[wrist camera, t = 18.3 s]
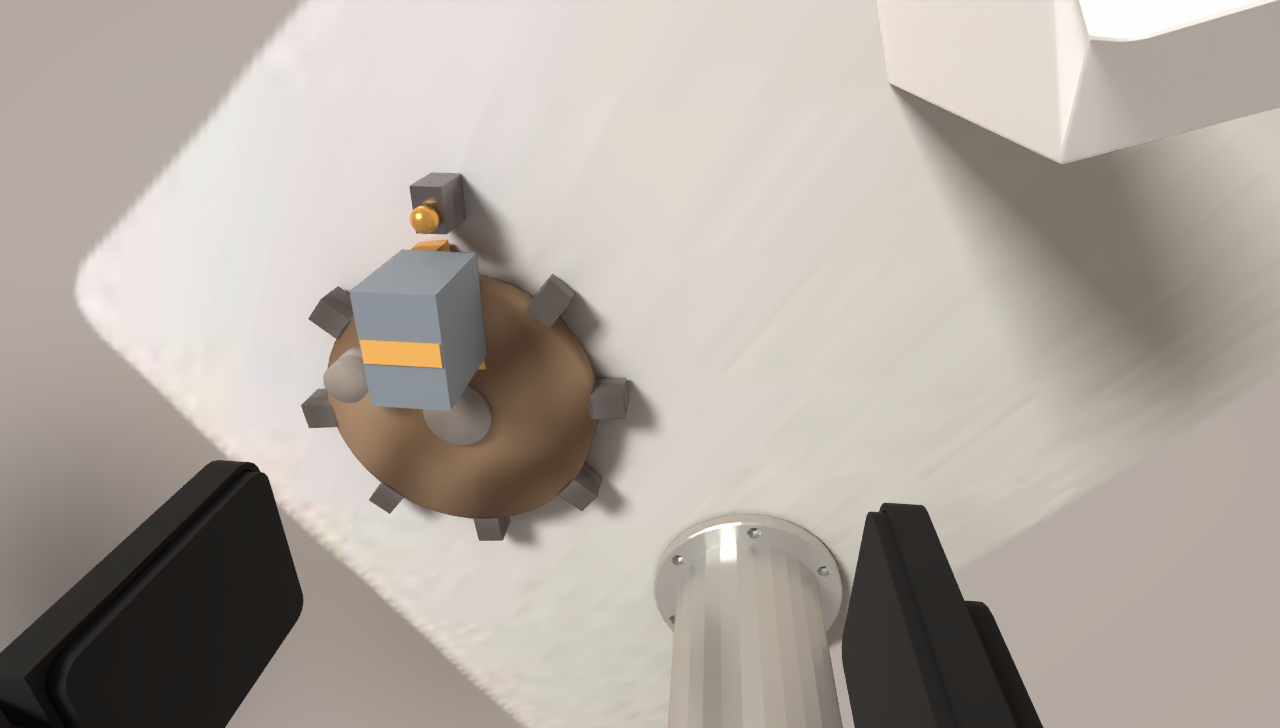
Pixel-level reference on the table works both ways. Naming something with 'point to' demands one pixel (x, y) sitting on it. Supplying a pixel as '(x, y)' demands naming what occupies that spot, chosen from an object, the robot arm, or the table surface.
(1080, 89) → the milk
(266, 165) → the table surface
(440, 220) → the block with gold knob
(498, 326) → the sprocket
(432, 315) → the link block
